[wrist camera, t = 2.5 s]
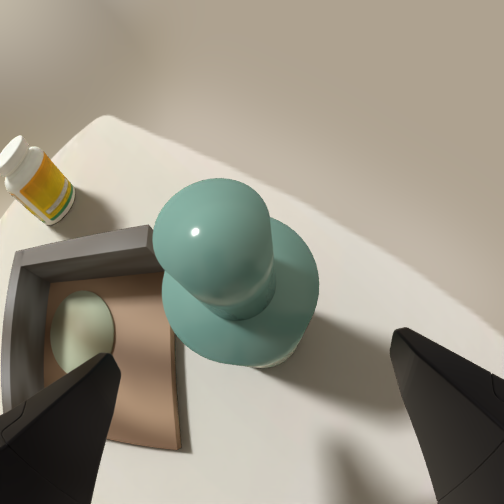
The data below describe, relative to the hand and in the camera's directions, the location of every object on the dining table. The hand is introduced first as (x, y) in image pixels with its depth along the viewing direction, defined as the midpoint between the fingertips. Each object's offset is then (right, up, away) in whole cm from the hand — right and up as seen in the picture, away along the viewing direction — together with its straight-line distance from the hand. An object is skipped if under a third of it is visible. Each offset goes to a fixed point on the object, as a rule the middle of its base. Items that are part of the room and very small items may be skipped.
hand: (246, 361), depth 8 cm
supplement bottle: (-21, +8, +17) cm, 29 cm away
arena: (-12, -4, +10) cm, 16 cm away
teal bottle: (+1, -2, +10) cm, 10 cm away
